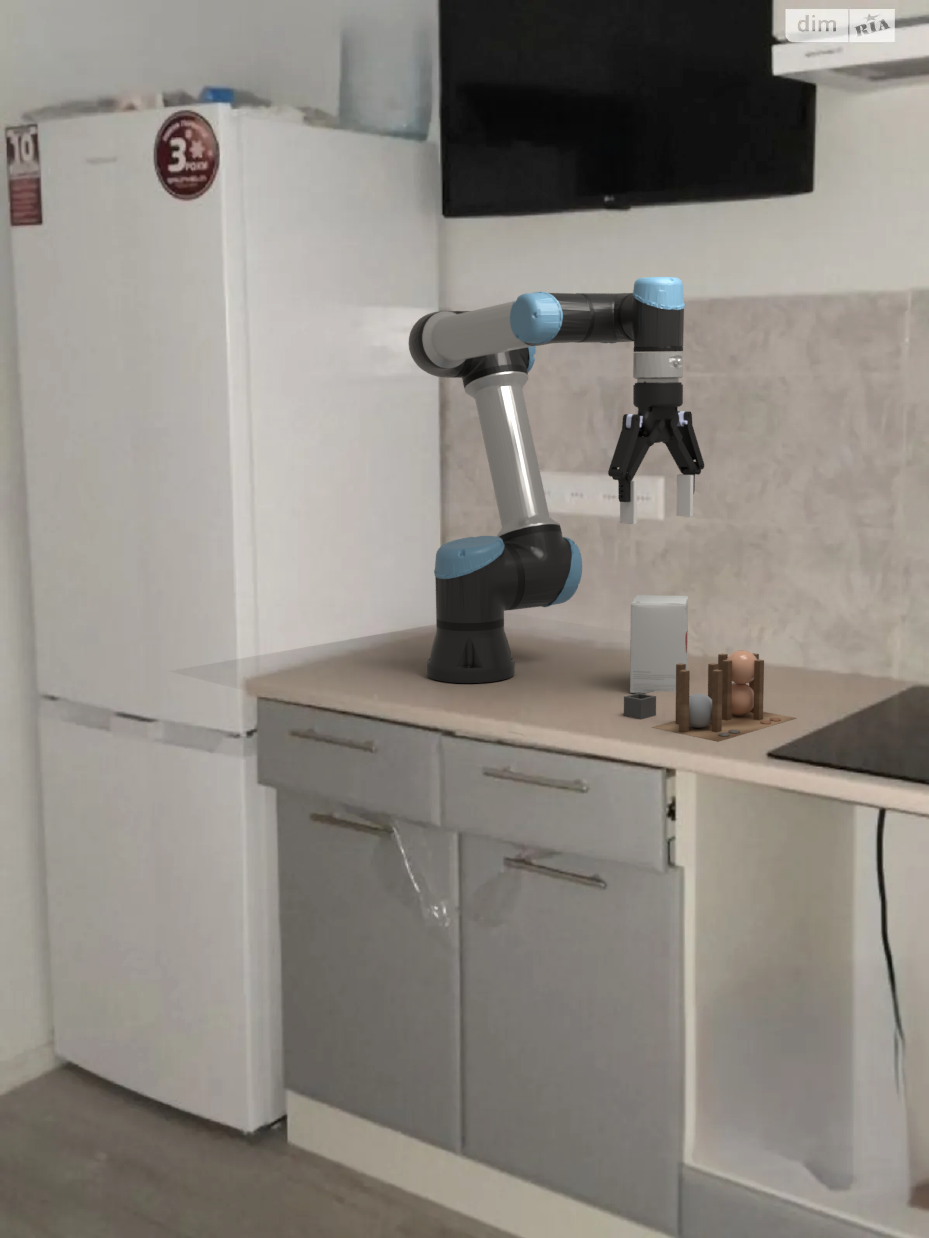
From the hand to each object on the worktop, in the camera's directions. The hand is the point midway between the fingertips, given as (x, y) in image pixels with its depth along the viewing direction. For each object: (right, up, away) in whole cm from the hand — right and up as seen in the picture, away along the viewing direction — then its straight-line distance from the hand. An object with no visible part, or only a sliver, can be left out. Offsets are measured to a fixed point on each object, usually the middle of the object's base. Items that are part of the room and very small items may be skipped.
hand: (657, 520), depth 235 cm
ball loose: (+11, -22, -10) cm, 27 cm away
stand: (-3, -30, -7) cm, 31 cm away
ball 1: (+4, -31, -15) cm, 35 cm away
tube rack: (+8, -31, -12) cm, 34 cm away
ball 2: (+11, -30, -8) cm, 33 cm away
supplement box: (+2, -27, +14) cm, 30 cm away
